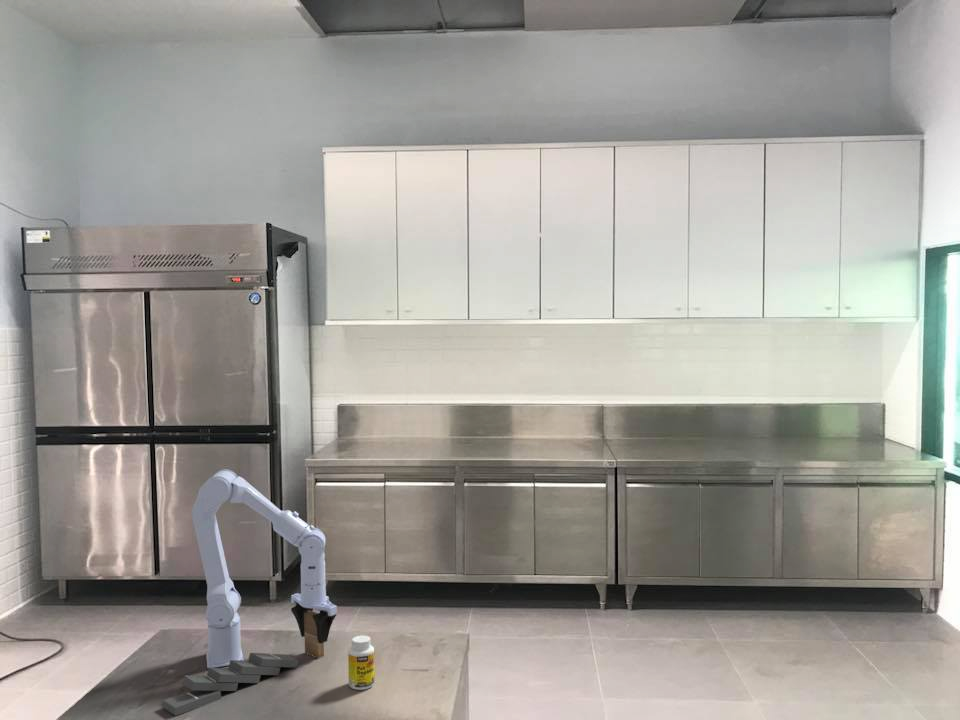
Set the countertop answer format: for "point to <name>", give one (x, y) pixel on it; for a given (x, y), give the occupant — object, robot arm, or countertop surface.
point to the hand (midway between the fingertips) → (314, 638)
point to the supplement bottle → (361, 663)
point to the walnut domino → (312, 636)
